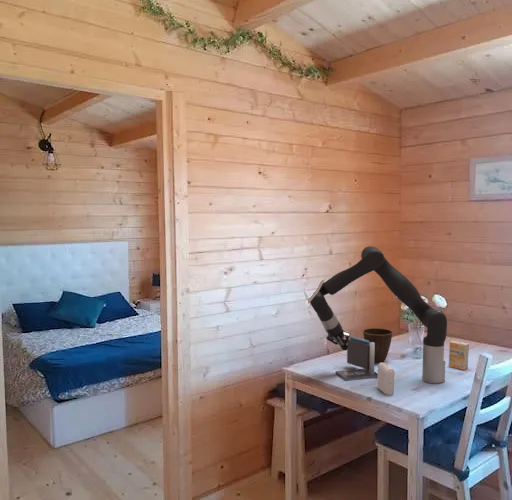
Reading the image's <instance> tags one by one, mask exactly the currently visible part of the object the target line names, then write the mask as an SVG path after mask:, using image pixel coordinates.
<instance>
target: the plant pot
mask: <svg viewBox="0 0 512 500" xmlns="http://www.w3.org/2000/svg"><path fill="white" fill-rule="evenodd" d="M362 333H363V339H364V340H368V341H370V342H374V343H375V353H374V364H379V363H386V359H387V357H388V354H389V351H390V347H391V342H392V339H393V338H392V337H393V331H392V330H389V329H386V328H379V327H378V328H377V327H375V328H366V329H363V330H362Z"/></svg>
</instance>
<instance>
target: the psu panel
mask: <svg viewBox="0 0 512 500" xmlns="http://www.w3.org/2000/svg"><path fill="white" fill-rule="evenodd" d="M335 374H336V375H337V376H338V377H339V378H341V379H342V380H344V381H345V382H347V381H357V380H367V379H368V380H369V379H378V372H376V371H375V370H374V371H369V369H365V368H356V369H345V370H336V371H335Z"/></svg>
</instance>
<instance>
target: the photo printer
mask: <svg viewBox="0 0 512 500" xmlns="http://www.w3.org/2000/svg"><path fill="white" fill-rule="evenodd" d="M377 373H378V378H377V385H376V386H377V389H379V391H381V392H383V394H384V395H387V396H393V395H394V393H395V370H394V367H392V366H391V365H390V364H389V363H387V362H384V363H378V364H377Z"/></svg>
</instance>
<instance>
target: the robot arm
mask: <svg viewBox="0 0 512 500" xmlns="http://www.w3.org/2000/svg"><path fill="white" fill-rule="evenodd" d="M360 255H361V257H360V258H361V259H360V260H359V261H358V262H356V263H355V264H354V265H352V266H351V267H349V268H346V269H344V270H342V271H340V272H337V273H336V274H334V275H333V276H332V277H330V278H328V279H327V280H325V281H323V282H322V283H321V285H320V287H319V289H318V291H317V292H316V293H315V294H314V296H313V297H312V298H311V299H310V300H309V304H310V306H311V307H312V309H313V310H314V312H315V313H316V315H317V317H318V318H319V320H320V322H321V323H320V324H322V326H323V328H324V329H325V331H326V333H327V336H326V340H327V341H329V342H331V343H333V344H334V345H336V346H337V345H338V346H340V348H341V350H343V351H347V348H348V346H347V342H348V339H350V337H351V333H350V332H348V333H347V332H346V331H345V330H344V329H343V326H342V324H341V323H340V321H339V319H338V318H337V317H338V316H336V314H335V313H334V312H333V310H332V308H331V306H330V305H329V304H328V302H327V300H326V298H325V297H326V295H328V294H329V295H331V296H333V295H336V294H337V293H339V292H340V291H342V290H343V289H344V288H346V287H347V286H348V285H350V284H352V283H353V282H354V281H356V280H358V279H360V278H362V277H363V276H365V275H367V274H369V273H372V272H373V271H374V272H375V273H376V274H377V275H378V276H379V278H381V280H382V281H383V282H384V284H385V286H387V288H388V289H389V290H390V292H391V293H392V294H393V295H394V296H395V297H397V299H398V300H399V301H401V303H402V304H403V305H405V306H406V307H407V308H408V309H410V310H411V311H412V312H413V314H414V315H415V316H416V317H417V318H418V320H419V322H421V324H422V325H423V326H424V327H425V328H427V331H426V336H424V337H423V340H422V370H421V371H422V373H421V375H422V376H421V379H422V382H425V383H430V384H442V383H443V382H446V361H445V360H444V359H445V356H444V355H445V343H446V339H447V331H448V329H447V328H448V318H447V317H446V314H444V313H443V312H442V311H439V310H437V309H435V308H433V307H432V306H431V305H429V304H428V303H427V302H426V301H425V300H424V299H423V297H422V296H421V294H420V292H419V291H418V288H417V287H416V286H415V285H414V284H413V283H412V282H411V281H410V280H409V279H408V278H407V277H406V276H405V275H404V274H403V273H402V272H400V271H399V270H398V269H397V268H395V267H394V266H393V265H392V264H391V263H390V262H389V261H388V260H387V258H386V257H385V255H384V253H383V252H382V251H381V250H380V249H379V248H378V247H376V246H373V245H371V246H366V247H364V248H363V249H362V251H361V254H360Z"/></svg>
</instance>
